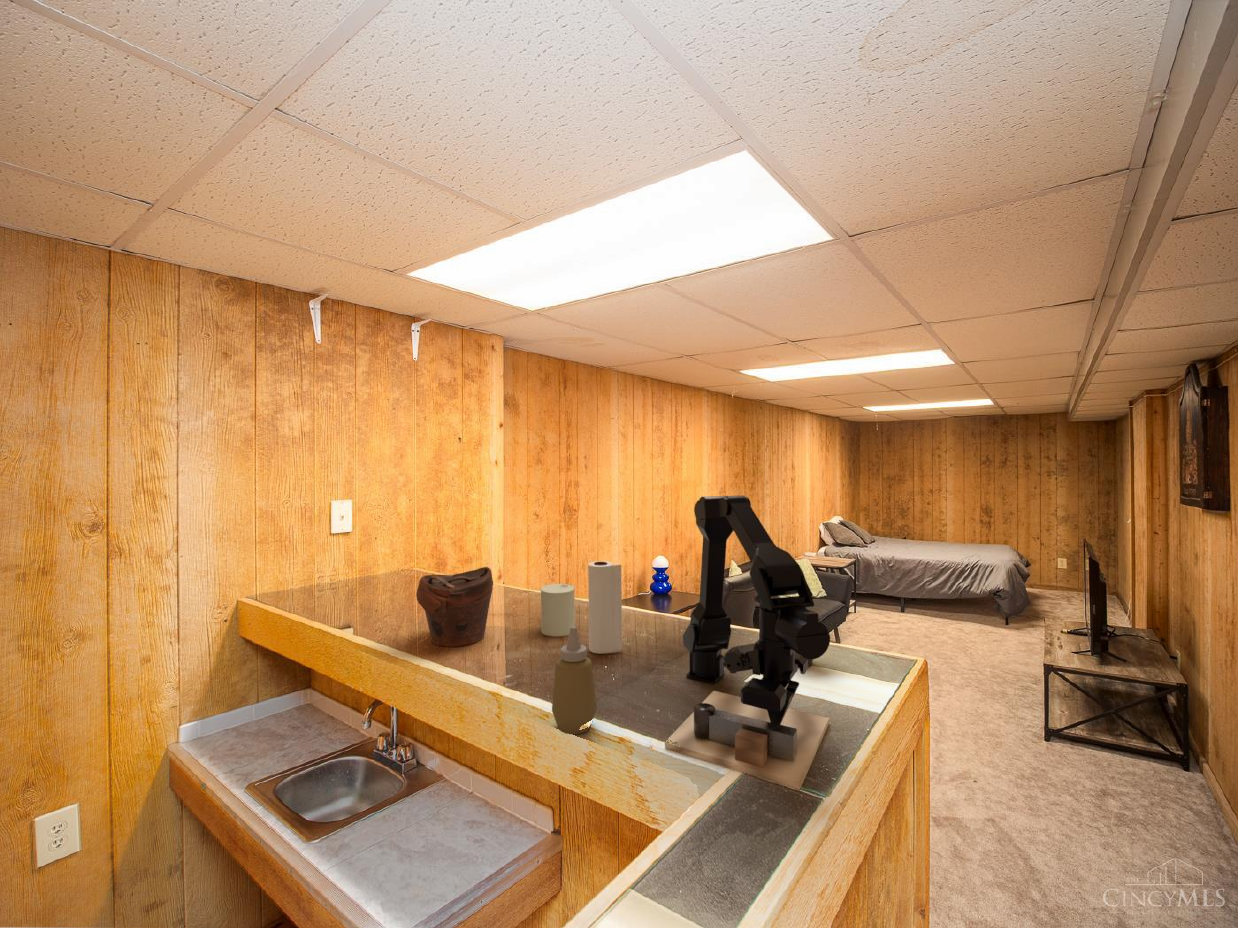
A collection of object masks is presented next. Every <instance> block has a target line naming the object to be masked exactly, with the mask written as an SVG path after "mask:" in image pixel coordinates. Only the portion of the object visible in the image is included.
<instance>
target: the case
mask: <svg viewBox="0 0 1238 928" xmlns="http://www.w3.org/2000/svg"><path fill="white" fill-rule="evenodd" d="M418 581H419V583H418V586H417V590H416V594H415V595H416V596H415V597H416V601H417V602H418V604H419V605H420V606H421V607H422V609H423V610H424V612H425V617H426V621H427V625H428V630H429V634H430V638H431V642H432V643H433V644H435V645H436V646H440V647H450V648H451V647H462V646H463V647H464V646H467V645H468V646H469V645H471V644H476V643H477V642H479V641H481V640H482V639H483V638H484V637H485V634H486V627H487V626H486V625H487V621H488V615H489V609H490V604H491V598H492V593H493V589H494V581H493V574H492V570H491V568H490V567H489V566H484V567H480V568H478V569H473V570H469V571H465V572H460V573H455V574H427V575H423V576H422V577H420V579H419V580H418Z"/></svg>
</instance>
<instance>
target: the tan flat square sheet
mask: <svg viewBox="0 0 1238 928" xmlns="http://www.w3.org/2000/svg"><path fill="white" fill-rule="evenodd" d="M701 703H707V704H711V705H713V706H714V707H715V709H716V710H720V711H725V712H729V713H733V714H737V715H741V716H746V717H750V718H754V719H758V720H762V721H767V722H770V718H769V715H768V712H767V710H765V709H761V708H758V707H754V706H750V705H746V704H743V703H742V702H741V696H738V695H733V694H729V693H726V692H720V691H716V690H713V691H711V693H710V694H709V695H708V696H707V697H706V698H705V699H704V700H703V701H702V702H701ZM829 724H830V718H829V717H825V716H821V715H817V714H813V713H808V712H804V711H801V710H797V709H792V708H788V709H787V712H786V714H785V716H784V718H783V720H782V722H781V725H783V726H788V727H792V728H796V729H797V754H796V757H795V759H794V761H790V760H787V759H783V758H779V757H775V756H772V755H768V754H767V761H766V763H765V765H764V767H763V768H761V767H758V766H754V765H751V764H748V763H744V762H741V761H738V760H735V746H734V745H730V744H727V743H723V742H719V741H715V740H712V739H701V738H698V737H696V736H695V735H694V711H693V712H692V713H691V714H690V715H689V716H688V717H686V719H685V720H684V721H683V722H682V723H681V724H680V725H679V727H678V728H676V730H675V731H674V732H673V733H672V734H671V735H670V736H669V737H668V738H667V739H668V740H669V741H668V740H667V739H666V740H665V741H666V742H667V741H668V742H670V740H671V741H672V742H673V743H674V742H678V743H677V744H678V746H677V744H676V745H673V744H671V743H672V742H670V743H666V742H665V741H664V748H665V749H667V750H670V751H674V752H678V753H680V754H683V755H686V756H689V757H693V758H696V759H700V760H703V761H705V762H709V763H712V764H716V765H719V766H722V767H726V768H728V769H732V770H736V771H739V772H741V773H744V774H748V775H751V776H755V777H758V778H761V779H764V780H766V781H767V780H768V781H771V782H775V783H777V784H780V785H783V786H786V787H791V788H794V789H797V790H800V789H801V788H802V785H803V783H804V781H805V779H806V776H807V774H808V772H809V770H810V767H811V765H812V763H813V761H814V758H815V757H816V753H817V751H818V749H819V748H820V745H821V742H822V740H823V738H824V735H825V734H826V731H827V729H828V726H829ZM680 745H681V746H682V747H679V746H680ZM683 747H684V748H683Z"/></svg>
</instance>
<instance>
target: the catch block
mask: <svg viewBox="0 0 1238 928" xmlns="http://www.w3.org/2000/svg"><path fill="white" fill-rule="evenodd" d="M735 760H738V761H741V762H744V763H748V764H751V765H754V766H758V767H761V768H763V767H764V765H765V763H766V761H767V735H764V734H760V733H757V732H753V731H749V730H745V729H742V728H740V729H739V730H738V732H737V733H736V734H735Z"/></svg>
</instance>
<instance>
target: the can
mask: <svg viewBox="0 0 1238 928" xmlns="http://www.w3.org/2000/svg"><path fill="white" fill-rule="evenodd" d="M575 590H576V587H575V586H574V585H572V584H566V583H552V584H547V585H544V586H541V588H540V602H541V605H540V606H541V608H540V609H541V613H540V614H541V615H540V616H541V617H540V618H541V626H540V628H541V629H540V633H542V635H545V636H548V637H554V638H555V637H565V636H569V632H570V628H571V627H576V621H575V620H576V614H575V613H576V610H575V609H576V608H575V606H576V605H575V599H576V598H575V597H576V596H575Z"/></svg>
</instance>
